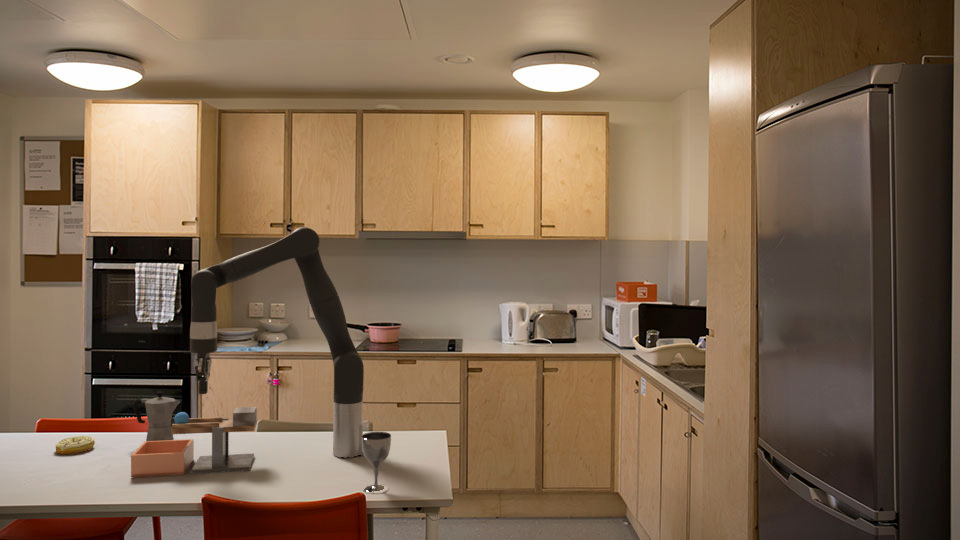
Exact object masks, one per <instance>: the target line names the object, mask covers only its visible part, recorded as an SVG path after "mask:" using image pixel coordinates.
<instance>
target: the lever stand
mask: <svg viewBox="0 0 960 540" xmlns="http://www.w3.org/2000/svg"><path fill="white" fill-rule="evenodd" d="M223 420H230V418H228V417H224V418H223V417H222V421H223ZM229 438H230V432H223V427H213V428H212V433H211V455H201V456H199V457H198V458H197V461H196V462H195V463H194V466H192V468H191V470H190V471H191V472H190V473H191V475H193V474H192V473H202V474H219V473H235V472H249V471H250V469H251V466H252V464H253V461H254V459H255V453H238V454H234V453H233V454H230V453H229V452H230V450H229V447H230V446H229V445H230V444H229V442H230V441H229V440H230V439H229Z"/></svg>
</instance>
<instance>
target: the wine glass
mask: <svg viewBox="0 0 960 540" xmlns="http://www.w3.org/2000/svg"><path fill="white" fill-rule="evenodd" d="M391 446H392V435H391V433H389V432H386V431H370V432H367V433H363V435H362V448H363V452H362V454H363V457H365V459H366V460H367V461H368V462H369V464H370V465H371V467H372V469H373V474H374V484H370V486H369V485H366V486H367V487H366V486H365V487H366V488H365V489H364V490H363V489H362V490H363V492H364V493H366V492H372V491H373V492H374V491H380V490H383V489H384V486H382V485H383V484H380V485H378V484H379V483H378V481H379V480H378V477H379V471H380V467H381V465H382V464H383V463H384V462H385V461H386V459H387V458H388V457H389V455H390V451H391Z"/></svg>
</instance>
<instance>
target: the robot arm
mask: <svg viewBox="0 0 960 540" xmlns="http://www.w3.org/2000/svg"><path fill="white" fill-rule="evenodd" d="M320 242H321V241H320V236H319V235H318V233H317V232H316V231H315V230H314V229H312V228H309V227H306V226H303V227H298V228H295V230H293V231H292V232H290V234H288V235H286V236H285V237H283V238H281V239H279V240H277V241H275V242H272V243H270V244H268V245H266V246H262V247H260V248H257V249H253V250H250V251H247V252H243V253H242V254H239V255H236V256H234V257H233V256H232V258H231V257H230V258H228V259H226V260H225V261H222V262H220V263H218V264H214V265H212V266H208V267H205V268H203V269H200V270H198V271H196V272H195V273H194V274H193V275H192V277H191V281H190V291H191V303H192V304H191V309H190V310H191V311H190V312H191V313H190V327H189V352H190V353H191V354H197V358H196V359H195V361H194V363H195V364H194V365H195V366H194V371H195V376H196V381H197V382H198V394H199V395H207V393H208V392H209V391H208V388H209V386H208V381H209V379H210V377H211V366H212V361H213V360H212V358H213V357H210V356H211V355H210V354H212V353H213V354H214V353H216V352H217V350H218V325H217V304H216V301H217V299H216V297H217V289H218V288H221V287H222V286H225V285H227V284H230V283H234V282H235V283H236V282H239V281H240V280H243V279H246V278H247V277H251V276H254V275H255V274H258V273H260V272H261V271H264V270H265V269H268V268H270V267H272V266H274V265H277V264H280V263H282V262H286V261H288V260H293V259H294V261H295V262H296V265H297V266H298V269H299V271H300V274H301V277H302V280H303V281H302V282H303V286H304V288H305V292H306V295H307V296H306V297H307V298H308V302H309V305H310V308H311V310H312V314H313V315H314V317H315V320H316V322H317V325H318V326H319V328H320V331H321V332H322V333H323V335H324V337H325V339H326V341H327V343H328V347H329V350H330V354H331V358H332V363H333V418H332V419H333V425H332V426H333V427H332V429H333V430H332V432H333V433H332V435H333V436H332V438H333V440H332V441H333V442H332V446H333V447H332V450H333V451H332V455H333V456H334V457H336V456H337V458H341V457H344V459H345V458H346V459H347V457H349V458H354V456H356V457H359V456H358V455H361V456H363V448H362V435H363V434H364V433H363V431H364V429H363V427H364V426H363V402H364V401H363V399H364V397H363V396H364V379H365V378H364V374H365V372H364V371H365V370H364V369H365V368H364V362H363V360H362V358H361V355H360V354H359V352H358V350H357V348H356V346H355V345H354V342H353V340H352V338H351V336H350V333H349V329H348V325H347V323H348V322H347V318H346V315H345V312H344V307H343V304H342V302H341V299H340V296H339V293H338V291H337V289H336V287H335V285H334V283H333V281H332V279H331V278H330V276H329V274H328V273H327V271H326V269H325V267H324V264H323V262H322V259H321V255H320V250H319V246H320Z"/></svg>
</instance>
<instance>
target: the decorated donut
mask: <svg viewBox="0 0 960 540" xmlns="http://www.w3.org/2000/svg"><path fill="white" fill-rule="evenodd" d="M95 443H96V442H95V438H93V437H92V436H89V435H75V436H71V437H70V436H69V437H66V438H63V439H62V440H59V441H58V442H57V443H56V444H55V452H56V453H57V454H58V453H60V455H72V454H71V453H73V454H74V453H76V454H79V452H80V453H85V452H87V450H88V451H91V449H93V447H94V445H95ZM84 451H85V452H84Z"/></svg>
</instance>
